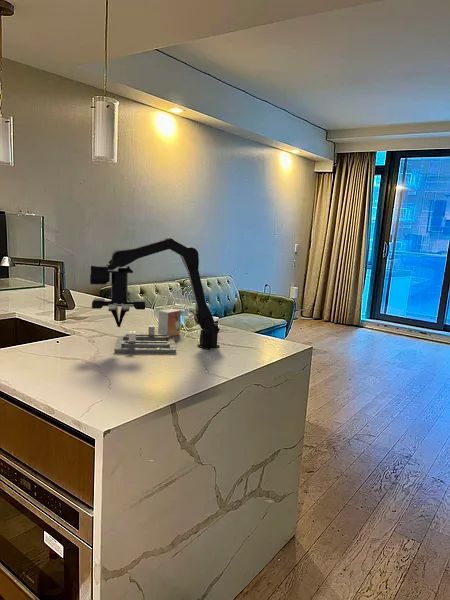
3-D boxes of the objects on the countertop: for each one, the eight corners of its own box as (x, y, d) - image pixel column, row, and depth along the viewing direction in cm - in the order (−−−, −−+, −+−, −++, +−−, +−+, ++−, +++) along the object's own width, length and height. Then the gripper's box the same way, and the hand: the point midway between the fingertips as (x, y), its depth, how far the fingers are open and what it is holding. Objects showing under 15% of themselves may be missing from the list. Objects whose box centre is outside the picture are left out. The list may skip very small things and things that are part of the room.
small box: (167, 337, 189) (167, 312, 187) (157, 334, 192) (158, 310, 190) (180, 334, 195) (181, 310, 193) (170, 331, 198) (171, 308, 196)
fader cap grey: (154, 337, 182) (154, 324, 181) (154, 339, 179) (154, 326, 178) (148, 337, 181) (148, 324, 181) (148, 339, 178) (148, 326, 177)
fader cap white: (135, 343, 171) (135, 330, 170) (135, 346, 168) (135, 333, 167) (129, 343, 171) (129, 330, 170) (128, 346, 167) (128, 333, 166)
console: (173, 339, 186) (173, 333, 185) (175, 353, 167) (176, 346, 167) (118, 339, 182) (118, 332, 182) (114, 353, 164) (114, 346, 163)
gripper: (146, 282, 174) (145, 322, 177) (95, 280, 171) (95, 321, 174) (145, 287, 163) (144, 329, 166) (91, 285, 160) (91, 328, 163)
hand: (119, 326), depth 167 cm, fingers closed
